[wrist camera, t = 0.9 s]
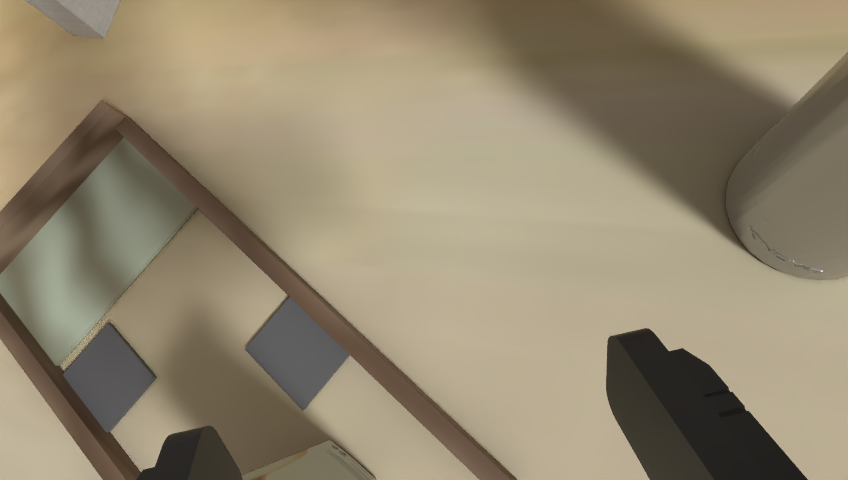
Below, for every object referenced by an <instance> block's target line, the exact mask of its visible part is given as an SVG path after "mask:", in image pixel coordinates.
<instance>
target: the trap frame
mask: <svg viewBox="0 0 848 480" xmlns="http://www.w3.org/2000/svg"><path fill="white" fill-rule="evenodd" d="M197 209H199V210H200V211H201V212H202V213H203V214H204V215H205V216H206V217H207V218H208V219H210V220H211V221H212V222H213V223H214V224H215V225H216V226H217V227H218V228H219V229H220V230H221V231H222V232H223V233H224V234H225V235H226V236H227V237H228V238H229V239H230V240H231V241H232V242H233V243H234V244H235V245H237V246H238V247H239V248H240V249H241V250H242V251H243V252H244V253H245V254H246V255H247V256H248V257H249V258H250V259H251V260H252V261H253V262H254V263H255V264H256V265H257V266H258V267H259V268H260V269H261V270H262V271H264V272H265V273H266V274H267V275H268V276H269V277H270V278H271V279H272V280H273V281H274V282H275V283H276V284H277V285H278V286H279V287H280V288H281V289H282V290H283V291H284V292H285V293H286V294H287V295H288V296H289V297H291V298H292V299H293V300H294V301H295V302H296V303H297V304H298V305H299V306H300V307H301V308H302V309H303V310H304V311H305V312H306V313H307V314H308V315H309V316H310V317H311V318H312V319H313V320H314V321H315V322H316V323H318V324H319V325H320V326H321V327H322V328H323V329H324V330H325V331H326V332H327V333H328V334H329V335H330V336H331V337H332V338H333V339H334V340H335V341H336V342H337V343H338V344H339V345H340V346H341V347H342V348H343V349H345V350H346V351H347V352H348V353H349V354H350V355H351V356H352V357H353V358H354V359H355V360H356V361H357V362H358V363H359V364H360V365H361V366H362V367H363V368H364V369H365V370H366V371H367V372H368V373H369V374H370V375H372V376H373V377H374V378H375V379H376V380H377V381H378V382H379V383H380V384H381V385H382V386H383V387H384V388H385V389H386V390H387V391H388V392H389V393H390V394H391V395H392V396H393V397H394V398H395V399H396V400H397V401H399V402H400V403H401V404H402V405H403V406H404V407H405V408H406V409H407V410H408V411H409V412H410V413H411V414H412V415H413V416H414V417H415V418H416V419H417V420H418V421H419V422H420V423H421V424H422V425H423V426H424V427H426V428H427V429H428V430H429V431H430V432H431V433H432V434H433V435H434V436H435V437H436V438H437V439H438V440H439V441H440V442H441V443H442V444H443V445H444V446H445V447H446V448H447V449H448V450H449V451H450V452H451V453H453V454H454V455H455V456H456V457H457V458H458V459H459V460H460V461H461V462H462V463H463V464H464V465H465V466H466V467H467V468H468V469H469V470H470V471H471V472H472V473H473V474H474V475H475V476H476V477H477V478H478V479H480V480H517V479H516V478H515V477H514V476H513V475H512V474H511V473H509V472H508V471H507V470H506V469H505V468H504V467H503V466H502V465H501V464H500V463H499V462H498V461H497V460H496V459H494V458H493V457H492V456H491V455H490V454H489V453H488V452H487V451H486V450H485V449H484V448H483V447H482V446H481V445H480V444H478V443H477V442H476V441H475V440H474V439H473V438H472V437H471V436H470V435H469V434H468V433H467V432H466V431H465V430H463V429H462V428H461V427H460V426H459V425H458V424H457V423H456V422H455V421H454V420H453V419H452V418H451V417H450V416H448V415H447V414H446V413H445V412H444V411H443V410H442V409H441V408H440V407H439V406H438V405H437V404H436V403H435V402H434V401H432V400H431V399H430V398H429V397H428V396H427V395H426V394H425V393H424V392H423V391H422V390H421V389H420V388H419V387H417V386H416V385H415V384H414V383H413V382H412V381H411V380H410V379H409V378H408V377H407V376H406V375H405V374H404V373H403V372H401V371H400V370H399V369H398V368H397V367H396V366H395V365H394V364H393V363H392V362H391V361H390V360H389V359H388V358H386V357H385V356H384V355H383V354H382V353H381V352H380V351H379V350H378V349H377V348H376V347H375V346H374V345H373V344H371V343H370V342H369V341H368V340H367V339H366V338H365V337H364V336H363V335H362V334H361V333H360V332H359V331H358V330H357V329H355V328H354V327H353V326H352V325H351V324H350V323H349V322H348V321H347V320H346V319H345V318H344V317H343V316H342V315H340V314H339V313H338V312H337V311H336V310H335V309H334V308H333V307H332V306H331V305H330V304H329V303H328V302H327V301H326V300H324V299H323V298H322V297H321V296H320V295H319V294H318V293H317V292H316V291H315V290H314V289H313V288H312V287H311V286H309V285H308V284H307V283H306V282H305V281H304V280H303V279H302V278H301V277H300V276H299V275H298V274H297V273H296V272H294V271H293V270H292V269H291V268H290V267H289V266H288V265H287V264H286V263H285V262H284V261H283V260H282V259H281V258H280V257H278V256H277V255H276V254H275V253H274V252H273V251H272V250H271V249H270V248H269V247H268V246H267V245H266V244H265V243H263V242H262V241H261V240H260V239H259V238H258V237H257V236H256V235H255V234H254V233H253V232H252V231H251V230H250V229H249V228H247V227H246V226H245V225H244V224H243V223H242V222H241V221H240V220H239V219H238V218H237V217H236V216H235V215H234V214H232V213H231V212H230V211H229V210H228V209H227V208H226V207H225V206H224V205H223V204H222V203H221V202H220V201H219V200H217V199H216V198H215V197H214V196H213V195H212V194H211V193H210V192H209V191H208V190H207V189H206V188H205V187H204V186H203V185H201V184H200V183H199V182H198V181H197V180H196V179H195V178H194V177H193V176H192V175H191V174H190V173H189V172H188V171H186V170H185V169H184V168H183V167H182V166H181V165H180V164H179V163H178V162H177V161H176V160H175V159H174V158H173V157H171V156H170V155H169V154H168V153H167V152H166V151H165V150H164V149H163V148H162V147H161V146H160V145H159V144H158V143H157V142H155V141H154V140H153V139H152V138H151V137H150V136H149V135H148V134H147V133H146V132H145V131H144V130H143V129H142V128H140V127H139V126H138V125H137V124H136V123H135V122H134V121H133V120H132V119H131V118H129V117H128V116H126V115H125V114H123V113H122V112H120V111H118V110H117V109H115V108H114V107H112V106H110V105H109V104H107V103H106V102H104V101H102V100H101V102H100V103H99V104H98V105H97V106H96V107H95V108H94V109H93V110H92V111H91V113H90V114H89V115H88V116H87V117H86V118H85V119H84V120H83V121H82V122H81V124H80V125H79V126H78V127H77V128H76V129H75V130H74V131H73V132H72V133H71V134H70V136H69V137H68V138H67V139H66V140H65V141H64V142H63V143H62V144H61V145H60V147H59V148H58V149H57V150H56V151H55V152H54V153H53V154H52V155H51V156H50V158H49V159H48V160H47V161H46V162H45V163H44V164H43V165H42V166H41V167H40V169H39V170H38V171H37V172H36V173H35V174H34V175H33V176H32V177H31V178H30V180H29V181H28V182H27V183H26V184H25V185H24V186H23V187H22V188H21V189H20V191H19V192H18V193H17V194H16V195H15V196H14V197H13V198H12V199H11V200H10V202H9V203H8V204H7V205H6V206H5V207H4V208H3V209H2V210H1V211H0V339H1V340H2V341H3V343H4V344H5V346H6V347H7V348H8V350H9V351H10V352H11V354H12V355H13V357H14V358H15V359H16V361H17V362H18V363H19V365H20V366H21V368H22V369H23V370H24V372H25V373H26V374H27V376H28V377H29V379H30V380H31V381H32V383H33V384H34V385H35V387H36V388H37V390H38V391H39V392H40V394H41V395H42V397H43V398H44V399H45V401H46V402H47V403H48V405H49V406H50V408H51V409H52V410H53V412H54V413H55V414H56V416H57V417H58V419H59V420H60V421H61V423H62V424H63V425H64V427H65V428H66V430H67V431H68V432H69V434H70V435H71V436H72V438H73V439H74V441H75V442H76V443H77V445H78V446H79V447H80V449H81V450H82V452H83V453H84V454H85V456H86V457H87V458H88V460H89V461H90V463H91V464H92V465H93V467H94V468H95V469H96V471H97V472H98V474H99V475H100V476H101V478H102V479H103V480H136V479H137V478H138V476H139V475H140V474H141V473H140V471H139V470H138V469H137V467H136V466H135V465H134V464H133V462H132V461H131V460H130V458H129V457H128V456H127V454H126V453H125V452H124V450H123V449H122V448H121V446H120V445H119V444H118V443H117V441H116V440H115V439H114V437H113V436H112V435H111V433H110V432H107V433H106V432H105V430H104V429H103V428H102V426H101V425H100V424H99V422H98V421H97V420H96V418H95V417H94V416H93V415H92V413H91V412H90V411H89V409H88V408H87V407H86V405H85V404H84V403H83V401H82V400H81V399H80V397H79V396H78V395H77V393H76V392H75V391H74V389H73V388H72V387H71V386H70V384H69V383H68V382H67V380H66V379H65V378H64V376H63V374H64V372H63V370H62V369H61V368H60V366H59V365H60V364H61V363H62V362H63V361H64V360H65V359H66V358H67V356H68V355H69V354H70V353H71V352H72V351H73V350H74V348H75V347H76V346H77V345H78V344H79V343H80V342H81V340H82V339H83V338H84V337H85V336H86V335H87V334H88V332H89V331H90V330H91V329H92V328H93V327H94V326H95V325H96V323H97V322H98V321H99V320H100V319H101V318H102V317H103V315H104V314H105V313H106V312H107V311H108V310H109V309H110V307H111V306H112V305H113V304H114V303H115V302H116V301H117V300H118V298H119V297H120V296H121V295H122V294H123V293H124V292H125V290H126V289H127V288H128V287H129V286H130V285H131V284H132V282H133V281H134V280H135V279H136V278H137V277H138V276H139V275H140V273H141V272H142V271H143V270H144V269H145V268H146V267H147V265H148V264H149V263H150V262H151V261H152V260H153V259H154V257H155V256H156V255H157V254H158V253H159V252H160V251H161V250H162V248H163V247H164V246H165V245H166V244H167V243H168V242H169V240H170V239H171V238H172V237H173V236H174V235H175V234H176V232H177V231H178V230H179V229H180V228H181V227H182V226H183V225H184V223H185V222H186V221H187V220H188V219H189V218H190V217H191V215H192V214H193V213H194V212H195V211H196V210H197Z"/></svg>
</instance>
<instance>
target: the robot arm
mask: <svg viewBox="0 0 848 480" xmlns="http://www.w3.org/2000/svg"><path fill="white" fill-rule="evenodd" d="M726 210H727V214H728V217H729V220H730V224H731V226H732V228H733V229H734V231H735V233H736V235H737V237H738V238H739V240H740V241H741V242H742V243H743V244H744V245H745V247H746V248H747V249H748V250H749V251H750V252H751V253H752V254H753V255H755V256H756V257H757V258H759V259H760V260H761V261H762V262H764V263H765V264H767V265H769V266H771V267H773V268H775V269H777V270H779V271H781V272H784V273H787V274H790V275H793V276H796V277H800V278H807V279H815V280H827V279H839V278H843V277H847V276H848V52H847V53H846V54H845V55H844V56H843V57H842V58H841V59H840V60H839V61H838V62H837V63H836V64H835V65H834V66H833V67H832V68H831V69H830V70H829V71H828V72H827V73H826V74H825V75H824V76H823V77H822V78H821V79H820V80H819V81H818V82H817V83H816V84H815V85H814V86H813V87H812V88H811V89H810V90H809V91H808V92H807V93H806V94H805V95H804V96H803V97H802V98H801V99H800V100H799V101H798V102H797V103H796V104H795V105H794V106H793V107H792V108H791V109H790V110H789V111H788V112H787V113H786V114H785V115H784V116H783V117H782V118H781V119H780V120H779V121H778V122H777V123H776V124H775V125H774V126H773V127H772V128H771V129H770V130H769V131H768V132H767V133H766V134H765V135H764V136H763V137H762V138H761V139H760V140H759V141H758V142H757V143H756V144H755V145H754V146H753V147H752V148H751V149H750V150H749V151H748V152H747V153H746V154H745V155H744V157H743V158H742V159H741V160H740V161H739V163H738V164H737V165H736V166H735V168H734V170H733V172H732V174H731V176H730V178H729V180H728V185H727V190H726ZM606 391H607V397H608V401H609V404H610V407H611V410H612V412H613V415H614V417H615V419H616V421H617V422H618V424H619V426H620V428H621V429H622V431H623V433H624V435H625V436H626V438H627V440H628V442H629V443H630V445H631V447H632V449H633V451H634V452H635V454H636V456H637V458H638V459H639V461H640V463H641V465H642V466H643V468H644V470H645V472H646V473H647V475H648V477H649V479H650V480H808V479H807V478H806V477H805V476H804V475H803V474H802V472H801V471H800V470H799V469H798V468H797V467H796V465H795V464H794V463H793V462H792V461H791V460H790V459H789V457H788V456H787V455H786V454H785V453H784V452H783V450H782V449H781V448H780V447H779V446H778V445H777V443H776V442H775V441H774V440H773V439H772V438H771V436H770V435H769V434H768V433H767V432H766V431H765V429H764V428H763V427H762V426H761V425H760V424H759V422H758V421H757V420H756V419H755V418H754V417H753V415H752V414H751V413H750V412H749V411H746V410H745V406H744V405H743V404H742V403H741V402H740V400H739V399H738V398H737V397H736V396H735V395H734V393H733V392H730V391H729V389H728V386H727V385H726V384H725V383H724V382H723V381H722V379H721V378H720V377H719V376H718V375H717V374H716V372H715V371H714V370H713V369H712V368H711V367H710V365H708V364H707V363H705V362H703V361H702V360H700V359H699V358H697V357H696V356H694V355H692V354H691V353H689V352H688V351H686V350H684V349H683V348H682V349H678V350H673V351H668V350H667V349H666V347H665V346H664V345H663V344H662V342H661V341H660V340H659V338H658V337H657V336H656V335H655V334H654V332H652V331H651V330H650V329H647V328H645V329H640V330H636V331H632V332H627V333H623V334H618V335H614V336H610V337H609V339H608V345H607V376H606ZM136 480H243V479H242V475H241V472H240V470H239V468H238V467H237V465H236V463H235V462H234V460H233V458H232V457H231V455H230V453H229V452H228V450H227V448H226V446H225V445H224V443H223V441H222V440H221V438H220V436H219V435H218V433H217V431H216V430H215V429H214V428H213V427H212V426H206V427H201V428H197V429H192V430H188V431H183V432H179V433H175V434H171V435H169V436H168V437H167V438H166V440H165V441H164V443H163V446H162V449H161V452H160V454H159V457H158V460H157V463H156V466H155V467H153V468H149V469H145V470H143V471H142V472H141V474H140V475H139V476H138V478H137V479H136Z"/></svg>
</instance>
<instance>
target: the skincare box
mask: <svg viewBox="0 0 848 480" xmlns="http://www.w3.org/2000/svg"><path fill="white" fill-rule="evenodd" d="M242 479H243V480H376V479H375V478H374V477H373V476H372V475H371V474H370V473H368V472H367V471H366V470H365V469H364V468H363V467H362V466H361V465H360V464H359V463H357V462H356V461H355V460H354V459H353V458H352V457H351V456H349V455H348V454H347V453H346V452H345V451H343V450H342V449H341V448H339V447H338V446H337V445H336V444H334V443H333V442H332V441H330V440H328V441H325V442H323V443H321V444H318V445H315V446H313V447H310V448H308V449H306V450H303V451H300V452H298V453H296V454H293V455H290V456H288V457H285V458H283V459H281V460H278V461H276V462H273V463H270V464H268V465H265V466H263V467H260V468H258V469H256V470H253V471H250V472H248V473H245V474H243V475H242Z"/></svg>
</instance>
